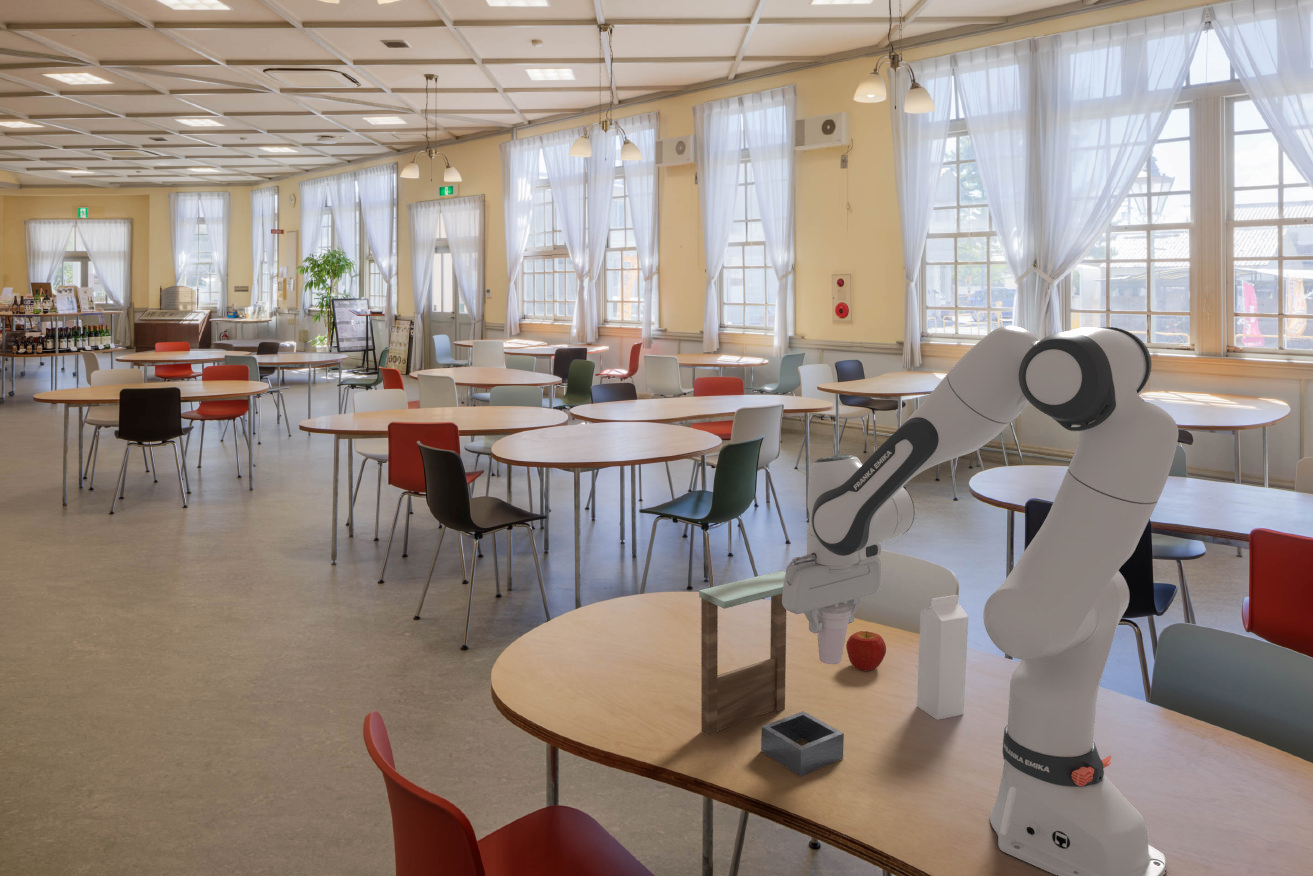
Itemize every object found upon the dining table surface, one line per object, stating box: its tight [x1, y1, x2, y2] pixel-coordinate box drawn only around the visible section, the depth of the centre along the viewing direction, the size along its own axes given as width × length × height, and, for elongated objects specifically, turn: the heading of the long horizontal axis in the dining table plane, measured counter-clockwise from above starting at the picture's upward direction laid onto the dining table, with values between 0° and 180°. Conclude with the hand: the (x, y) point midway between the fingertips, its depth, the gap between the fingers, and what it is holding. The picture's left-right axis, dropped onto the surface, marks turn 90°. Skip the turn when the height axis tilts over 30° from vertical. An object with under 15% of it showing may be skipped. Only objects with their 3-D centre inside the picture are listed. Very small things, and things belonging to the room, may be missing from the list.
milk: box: [916, 594, 969, 721], centre depth 159 cm, size 6×6×22 cm
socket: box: [760, 710, 845, 777], centre depth 145 cm, size 10×10×4 cm
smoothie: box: [816, 602, 852, 665], centre depth 149 cm, size 6×6×14 cm
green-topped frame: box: [698, 570, 787, 737], centre depth 154 cm, size 7×19×26 cm, turn 124°
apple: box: [845, 630, 887, 672], centre depth 179 cm, size 8×8×8 cm
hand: (831, 627), depth 149 cm, fingers closed on smoothie, 6 cm apart
